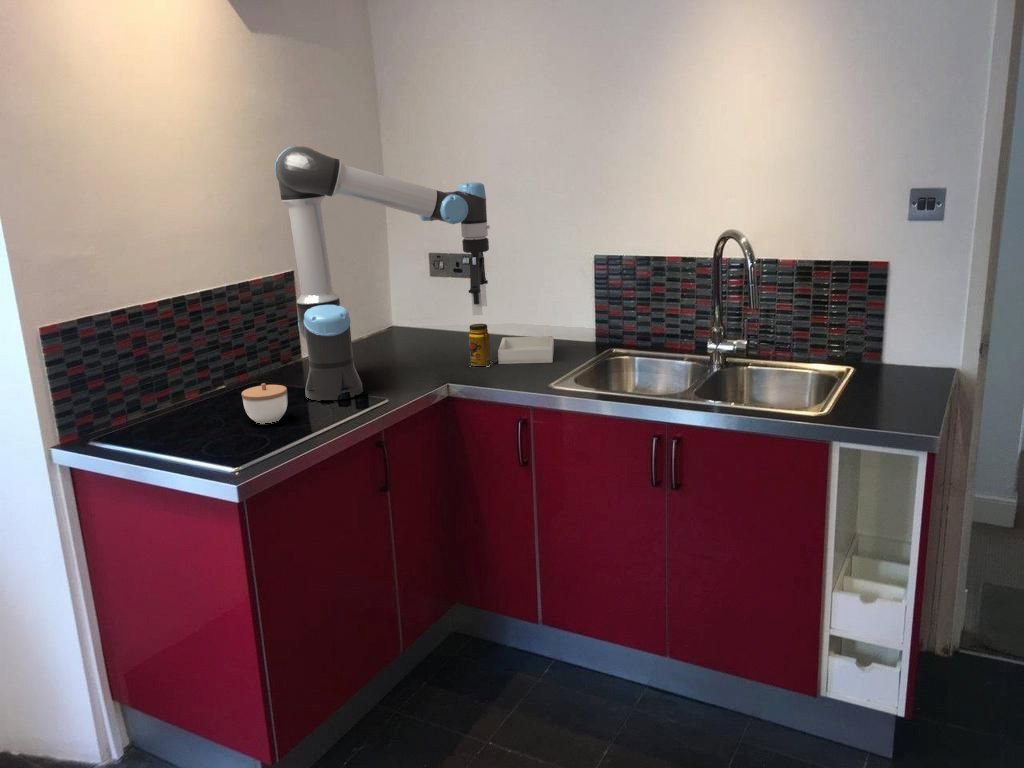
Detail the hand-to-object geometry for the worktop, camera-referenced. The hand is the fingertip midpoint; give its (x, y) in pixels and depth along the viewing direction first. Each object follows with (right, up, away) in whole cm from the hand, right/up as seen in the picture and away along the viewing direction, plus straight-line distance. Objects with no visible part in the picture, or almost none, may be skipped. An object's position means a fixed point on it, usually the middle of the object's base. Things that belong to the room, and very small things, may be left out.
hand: (480, 310), depth 262 cm
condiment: (+1, -16, +4) cm, 16 cm away
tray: (+14, -13, +11) cm, 22 cm away
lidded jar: (-51, -31, -42) cm, 73 cm away
